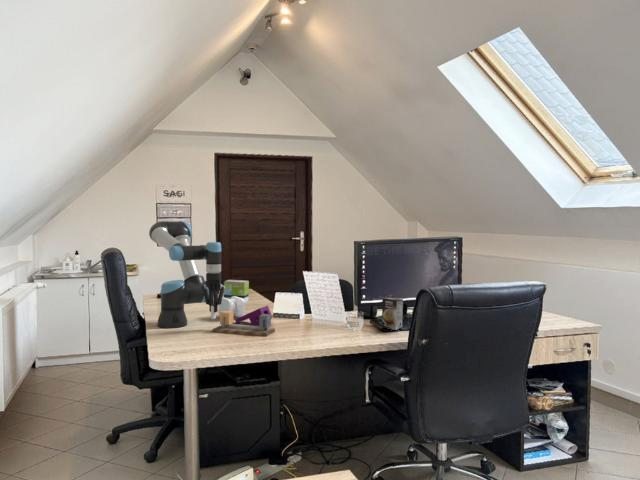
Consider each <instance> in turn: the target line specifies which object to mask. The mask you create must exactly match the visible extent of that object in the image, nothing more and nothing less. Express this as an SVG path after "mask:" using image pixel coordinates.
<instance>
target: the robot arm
mask: <svg viewBox="0 0 640 480" xmlns="http://www.w3.org/2000/svg"><path fill="white" fill-rule="evenodd" d="M192 229H193V228H192V227H191V225H190V223H189V222H187V221H181V220H180V221H170V220H169V221H168V220H167V221H166V220H165V221H163V220H162V221H158V222H155V223H154V224H152V226H151V227H150V228H149V231H148V235H149V238H150V239H151V241H153V242H154V243H155V244H158V245H159V246H161V247H162V248H164V249H165V250H166V251H167V252H168V254H169V255H168V257H169V259H170V260H171V261H173V262H174V261H176V262H178V264H179V267H180V270H181V272H182V276H183V279H175V280H169V281H165V282H163V283H162V284H161V285H160V286H161V287H160V313H159V316H158V319H157V323H156V325H157V327H158V328H163V329H165V328H166V329H174V328H175V329H177V328H183V327H186V326H187V325H188V319H187V315H186V313H185V305H191V304H202V303H205V305H208V307H209V313H210V319H211V320H214V319H217V313H218V312H219V305H220V304H221V302H222V298H223V297H224V290H225V288H226V286H224V284H222V243H221V242H219V241H218V242H216V241H209V242H207V243H206V244H200V245H191V244H190V243H191V241H192V238H193V230H192ZM200 260H201V261H203V260H204V261H205V264H206V265H205V271H206V273H205V277H204V276H203V275H202V274H200V271H199V269H198V266H197V263H196V261H200Z"/></svg>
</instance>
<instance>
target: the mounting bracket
mask: <svg viewBox="0 0 640 480" xmlns="http://www.w3.org/2000/svg"><path fill="white" fill-rule="evenodd" d="M262 314H271V319H272V318H273V317H272V316H273V315H272V313H271V310H270V307H269V306H268V305H266V306H263V307H260V308H258V309H255V310H252V311H251V312H249V313H245V315H244V316H242V317H240V318H239V317H237V318H235V319H234V322H235V324H238V323H241V322H244V321H246V320H248V319H249V321H250V323H251V326H259V320H260V315H262Z"/></svg>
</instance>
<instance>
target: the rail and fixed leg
mask: <svg viewBox="0 0 640 480" xmlns="http://www.w3.org/2000/svg"><path fill="white" fill-rule="evenodd" d="M271 315H272V313H271V314H262V315H260V320H259V326H253V325H252V324H251V325H249V324H238V323H232V324H230V325H225V327H227V328H240V329H253V330H261V331H264V330H265V331H267V330H269V328H271V326H272V321H271V320H272V318H271ZM220 326H221V327H222V324H220Z"/></svg>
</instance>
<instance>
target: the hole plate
mask: <svg viewBox="0 0 640 480" xmlns="http://www.w3.org/2000/svg"><path fill="white" fill-rule="evenodd" d="M211 330H212V333H220V334H221V333H222V334H232V335H243V336H244V335H245V336H259V337H268V336H270V335H271V334H274V333H275V332H276V328H274V327H273V328H271V327H269V330H267V331H265V330H264V331H261V330H253V329H240V328H227V327H224V328H222V327H221V325H219V326H217V327H214V328H212V329H211Z"/></svg>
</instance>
